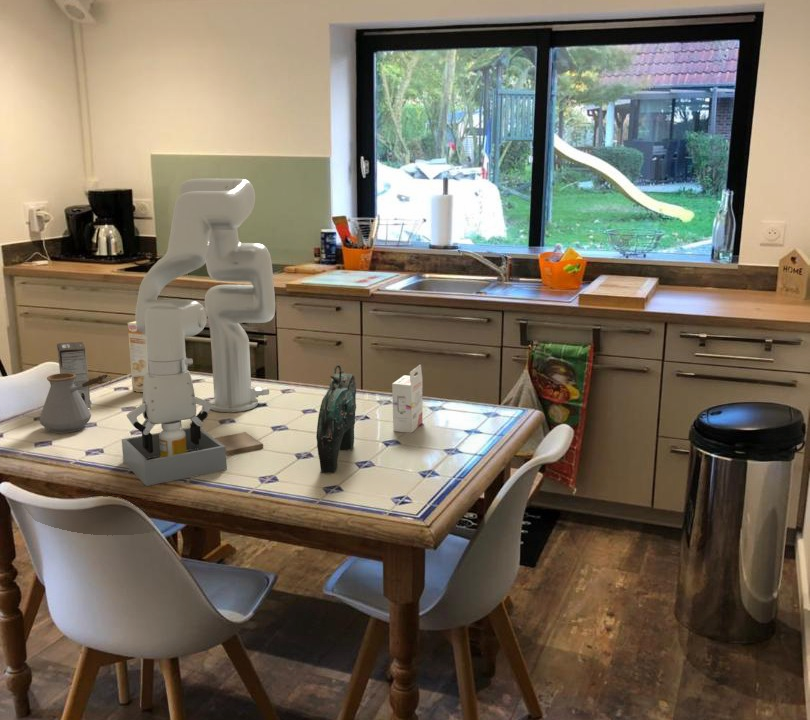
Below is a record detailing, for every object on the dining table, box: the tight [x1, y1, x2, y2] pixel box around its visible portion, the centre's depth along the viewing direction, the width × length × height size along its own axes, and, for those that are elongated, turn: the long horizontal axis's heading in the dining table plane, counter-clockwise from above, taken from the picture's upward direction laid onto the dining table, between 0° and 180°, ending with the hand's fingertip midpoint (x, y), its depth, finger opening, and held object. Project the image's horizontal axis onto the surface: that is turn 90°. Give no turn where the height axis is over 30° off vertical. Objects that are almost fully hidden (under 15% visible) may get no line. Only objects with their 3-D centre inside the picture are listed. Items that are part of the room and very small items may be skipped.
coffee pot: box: [39, 373, 112, 434], centre depth 198 cm, size 21×12×15 cm, turn 62°
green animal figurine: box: [315, 364, 357, 474], centre depth 179 cm, size 20×6×20 cm, turn 170°
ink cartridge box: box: [391, 364, 423, 434], centre depth 200 cm, size 9×5×15 cm, turn 161°
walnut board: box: [214, 431, 264, 456], centre depth 189 cm, size 10×10×1 cm
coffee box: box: [56, 341, 92, 409], centre depth 219 cm, size 9×6×16 cm
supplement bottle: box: [158, 420, 188, 458], centre depth 176 cm, size 5×5×10 cm
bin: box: [121, 426, 228, 487], centre depth 176 cm, size 17×17×5 cm
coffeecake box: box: [127, 320, 148, 393], centre depth 237 cm, size 15×7×20 cm, turn 155°
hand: (172, 447), depth 176 cm, fingers open, 9 cm apart
